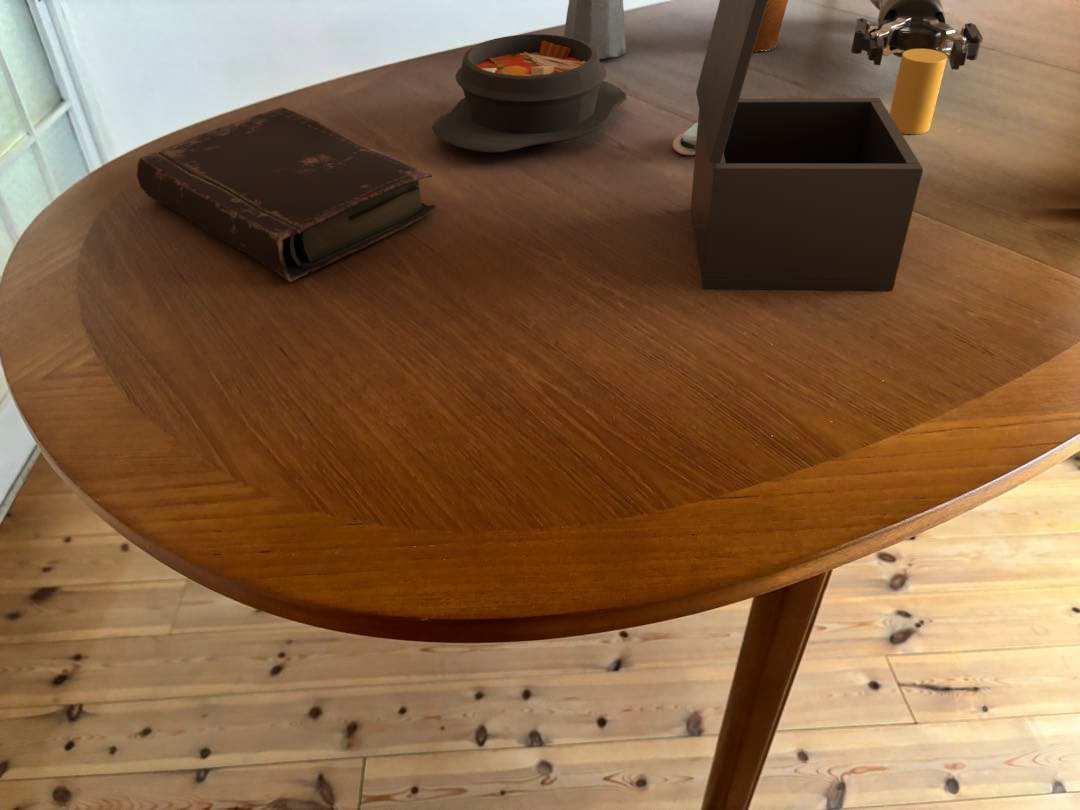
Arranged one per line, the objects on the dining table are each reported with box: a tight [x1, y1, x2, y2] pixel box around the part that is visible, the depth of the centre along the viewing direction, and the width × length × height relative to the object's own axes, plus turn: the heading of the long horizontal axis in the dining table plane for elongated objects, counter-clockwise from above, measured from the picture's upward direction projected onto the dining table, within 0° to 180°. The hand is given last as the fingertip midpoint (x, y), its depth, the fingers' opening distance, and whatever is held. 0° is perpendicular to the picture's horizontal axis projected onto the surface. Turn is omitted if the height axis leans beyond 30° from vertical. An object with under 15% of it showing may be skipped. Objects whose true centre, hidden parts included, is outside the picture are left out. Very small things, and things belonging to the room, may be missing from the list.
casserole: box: [431, 33, 627, 154], centre depth 105 cm, size 25×19×8 cm
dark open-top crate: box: [690, 97, 924, 292], centre depth 80 cm, size 16×15×11 cm
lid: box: [695, 0, 768, 163], centre depth 72 cm, size 17×15×1 cm
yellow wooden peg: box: [888, 49, 948, 135], centre depth 102 cm, size 5×5×8 cm
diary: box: [136, 106, 436, 283], centre depth 91 cm, size 19×25×5 cm
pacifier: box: [672, 121, 698, 156], centre depth 99 cm, size 7×6×6 cm
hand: (918, 58), depth 105 cm, fingers open, 8 cm apart
